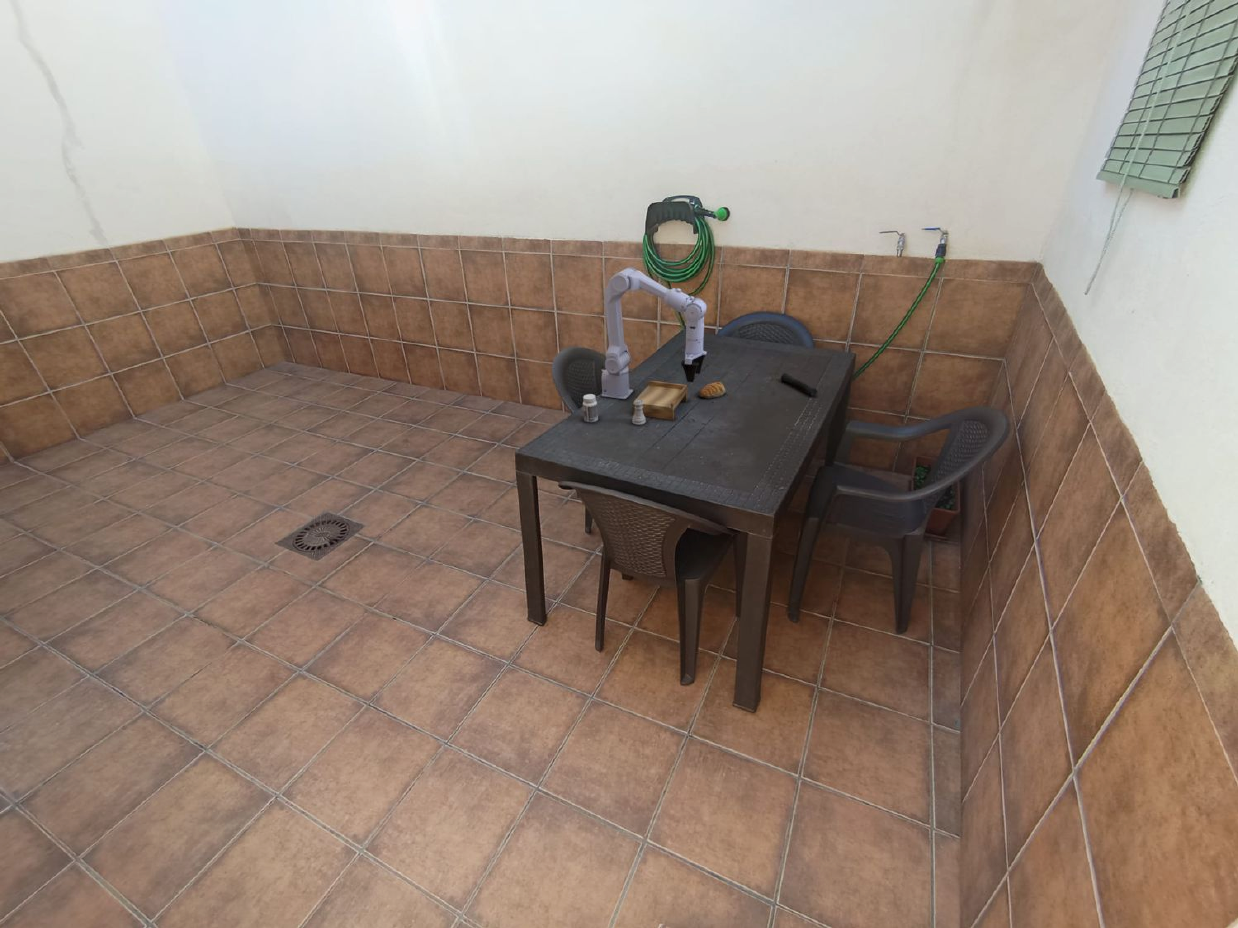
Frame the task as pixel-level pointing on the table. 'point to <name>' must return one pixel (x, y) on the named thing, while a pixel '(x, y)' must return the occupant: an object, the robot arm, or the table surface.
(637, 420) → the rook chess piece
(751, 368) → the table surface
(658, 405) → the wooden tray
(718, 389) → the pastry
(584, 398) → the pill bottle
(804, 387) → the flashlight
